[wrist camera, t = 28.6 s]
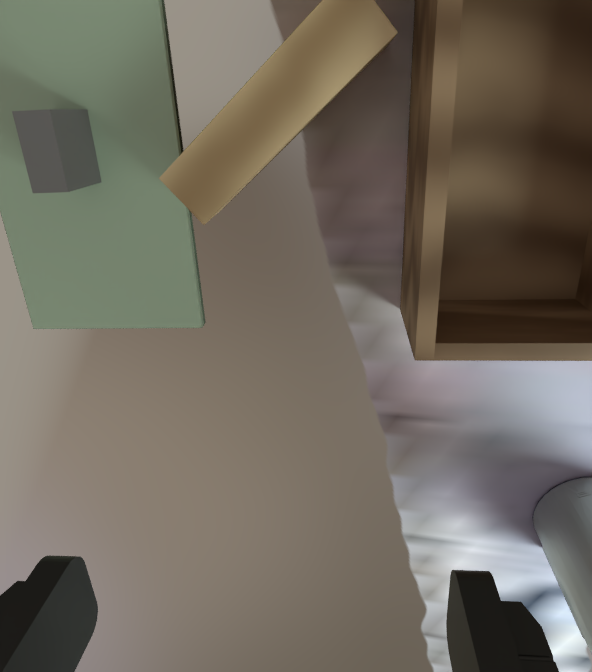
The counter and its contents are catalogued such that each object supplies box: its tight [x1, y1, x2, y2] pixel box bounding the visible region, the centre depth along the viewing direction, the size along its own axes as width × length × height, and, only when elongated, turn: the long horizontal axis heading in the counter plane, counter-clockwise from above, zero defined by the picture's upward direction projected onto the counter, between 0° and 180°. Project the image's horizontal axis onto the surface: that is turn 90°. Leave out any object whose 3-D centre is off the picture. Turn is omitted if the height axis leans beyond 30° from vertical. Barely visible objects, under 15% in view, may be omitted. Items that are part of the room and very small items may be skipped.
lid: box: [0, 0, 206, 329], centre depth 36 cm, size 25×15×6 cm, turn 3°
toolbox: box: [400, 0, 592, 361], centre depth 31 cm, size 24×14×9 cm, turn 2°
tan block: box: [159, 0, 398, 225], centre depth 32 cm, size 4×16×6 cm, turn 133°
